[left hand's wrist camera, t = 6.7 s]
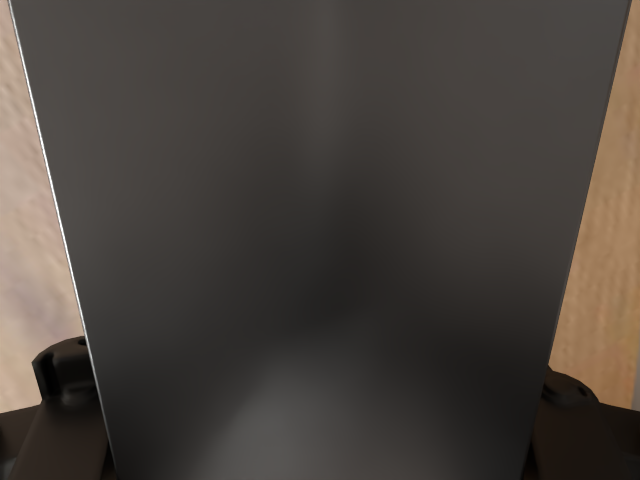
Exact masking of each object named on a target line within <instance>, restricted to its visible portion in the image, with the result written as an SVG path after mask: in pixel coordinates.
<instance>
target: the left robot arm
mask: <svg viewBox="0 0 640 480" xmlns="http://www.w3.org/2000/svg"><path fill="white" fill-rule="evenodd" d="M32 366H33V369H34V373H35V376H36V380H37V383H38V386H39V390H40V393H41V397H42V401H41V404H40V405H36V406H32V407H28V408H23V409H19V410H14V411H9V412H5V413H0V480H118V478H117V474H116V469H115V465H114V461H113V456H112V452H111V448H110V443H109V439H108V435H107V430H106V426H105V422H104V417H103V413H102V409H101V404H100V400H99V396H98V391H97V387H96V383H95V378H94V374H93V370H92V365H91V361H90V357H89V352H88V348H87V344H86V339H85V336H79V337H75V338H71V339H67V340H64V341H61V342H59V343H57V344H54V345H52V346H50V347H48V348H47V349H45V350H44V351H42V352H41V353H39V354H38V355H37V357H36V358H35V359H34V360H33V361H32ZM522 480H640V412H639V411H635V410H630V409H625V408H621V407H616V406H611V405H607V404H603V403H600V402H599V400H598V399H597V397H596V396H595V394H594V393H593V392H592V390H591V389H590V388H588V387H587V386H586V385H584V384H583V383H582V382H580V381H579V380H577V379H574V378H572V377H570V376H568V375H566V374H563V373H559V372H555V371H553V370H552V369H551V368H550V367H549V365H548V367H547V372H546V376H545V380H544V385H543V389H542V393H541V398H540V402H539V406H538V411H537V415H536V419H535V424H534V428H533V433H532V437H531V441H530V446H529V450H528V454H527V459H526V463H525V467H524V472H523V476H522Z"/></svg>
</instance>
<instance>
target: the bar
mask: <svg viewBox="0 0 640 480" xmlns="http://www.w3.org/2000/svg"><path fill="white" fill-rule="evenodd" d="M7 1H8V5H9V9H10V14H11V18H12V22H13V27H14V31H15V35H16V40H17V44H18V48H19V53H20V57H21V61H22V66H23V70H24V74H25V79H26V83H27V87H28V92H29V96H30V100H31V105H32V109H33V113H34V118H35V122H36V126H37V131H38V135H39V139H40V144H41V148H42V153H43V157H44V161H45V166H46V170H47V174H48V179H49V183H50V187H51V192H52V196H53V200H54V205H55V209H56V213H57V218H58V222H59V226H60V231H61V235H62V239H63V244H64V248H65V252H66V257H67V261H68V265H69V270H70V274H71V278H72V283H73V287H74V291H75V296H76V300H77V304H78V309H79V313H80V318H81V322H82V326H83V331H84V335H85V339H86V344H87V348H88V352H89V357H90V361H91V365H92V370H93V374H94V378H95V383H96V387H97V391H98V396H99V400H100V404H101V409H102V413H103V417H104V422H105V426H106V430H107V435H108V439H109V443H110V448H111V452H112V456H113V461H114V465H115V469H116V474H117V478H118V480H522V476H523V472H524V467H525V463H526V459H527V454H528V450H529V446H530V441H531V437H532V433H533V428H534V424H535V419H536V415H537V411H538V406H539V402H540V398H541V393H542V389H543V385H544V380H545V376H546V372H547V367H548V363H549V359H550V354H551V350H552V346H553V341H554V337H555V333H556V328H557V324H558V320H559V315H560V311H561V306H562V302H563V298H564V293H565V289H566V285H567V280H568V276H569V272H570V267H571V263H572V259H573V254H574V250H575V246H576V241H577V237H578V233H579V228H580V224H581V220H582V215H583V211H584V206H585V202H586V198H587V193H588V189H589V185H590V180H591V176H592V172H593V167H594V163H595V159H596V154H597V150H598V146H599V141H600V137H601V133H602V128H603V124H604V120H605V115H606V111H607V106H608V102H609V98H610V93H611V89H612V85H613V80H614V76H615V72H616V67H617V63H618V59H619V54H620V50H621V46H622V41H623V37H624V33H625V28H626V24H627V20H628V15H629V11H630V7H631V2H632V0H7Z"/></svg>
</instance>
